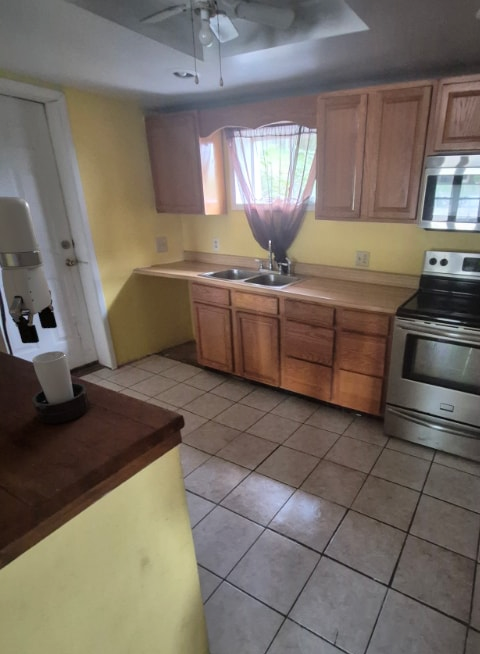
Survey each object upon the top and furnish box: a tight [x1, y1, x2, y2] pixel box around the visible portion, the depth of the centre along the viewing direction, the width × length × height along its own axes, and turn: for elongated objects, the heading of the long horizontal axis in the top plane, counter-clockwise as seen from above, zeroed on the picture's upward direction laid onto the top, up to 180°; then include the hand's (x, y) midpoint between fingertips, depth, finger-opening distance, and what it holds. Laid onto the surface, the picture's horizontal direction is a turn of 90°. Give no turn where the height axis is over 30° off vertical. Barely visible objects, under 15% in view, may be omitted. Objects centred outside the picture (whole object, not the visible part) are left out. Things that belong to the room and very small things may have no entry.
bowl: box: [31, 382, 90, 425], centre depth 93 cm, size 11×11×6 cm
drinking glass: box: [32, 350, 74, 404], centre depth 91 cm, size 7×7×15 cm
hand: (40, 334), depth 85 cm, fingers open, 9 cm apart
